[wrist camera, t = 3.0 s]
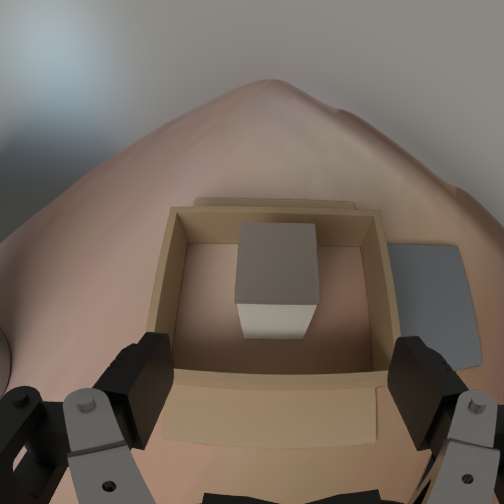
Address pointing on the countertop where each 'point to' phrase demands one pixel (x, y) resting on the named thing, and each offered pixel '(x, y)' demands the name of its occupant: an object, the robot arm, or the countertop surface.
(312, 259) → the tea box
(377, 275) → the carton
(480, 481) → the robot arm
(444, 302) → the slate mat
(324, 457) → the countertop surface
